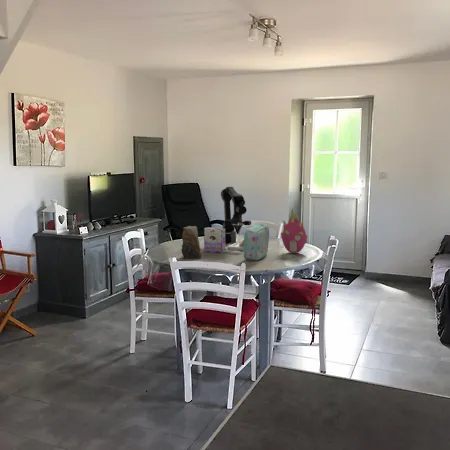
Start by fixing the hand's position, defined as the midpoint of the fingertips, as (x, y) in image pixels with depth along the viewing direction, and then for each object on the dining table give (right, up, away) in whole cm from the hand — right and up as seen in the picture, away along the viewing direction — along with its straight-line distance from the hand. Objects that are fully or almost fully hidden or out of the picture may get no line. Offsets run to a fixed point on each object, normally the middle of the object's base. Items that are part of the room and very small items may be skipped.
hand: (237, 234), depth 350 cm
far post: (-2, -8, +14) cm, 16 cm away
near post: (-11, -11, -6) cm, 16 cm away
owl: (-30, -15, -30) cm, 45 cm away
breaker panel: (+3, -10, 0) cm, 10 cm away
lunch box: (+11, -15, -32) cm, 37 cm away
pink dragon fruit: (+37, -13, -18) cm, 43 cm away
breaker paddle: (+4, -7, 0) cm, 8 cm away
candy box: (-16, -12, -11) cm, 23 cm away
